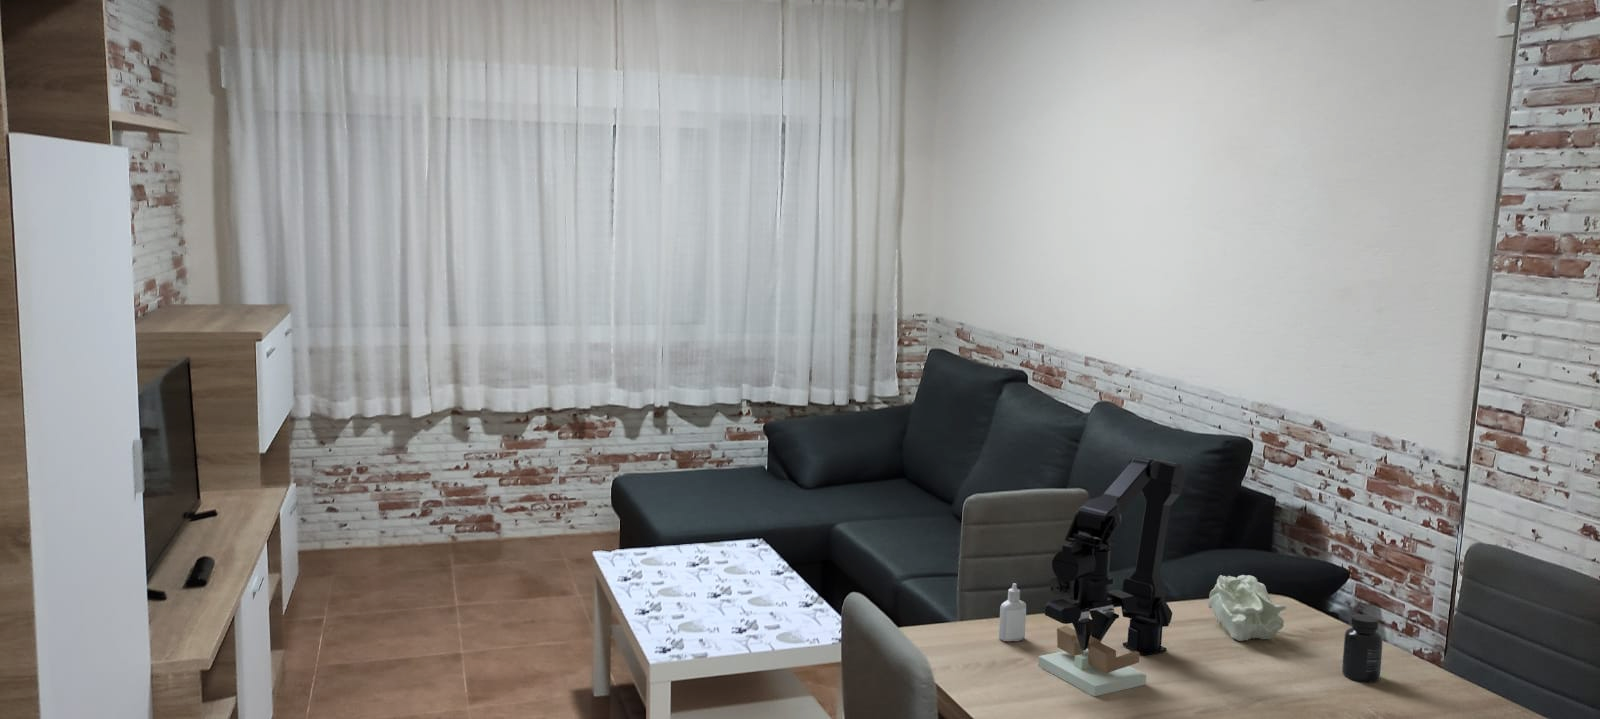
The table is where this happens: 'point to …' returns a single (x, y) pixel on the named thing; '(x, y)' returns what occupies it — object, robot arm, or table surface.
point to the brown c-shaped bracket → (1094, 651)
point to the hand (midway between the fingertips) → (1088, 648)
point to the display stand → (1090, 673)
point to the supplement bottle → (1362, 649)
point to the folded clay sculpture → (1245, 608)
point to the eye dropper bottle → (1012, 617)
